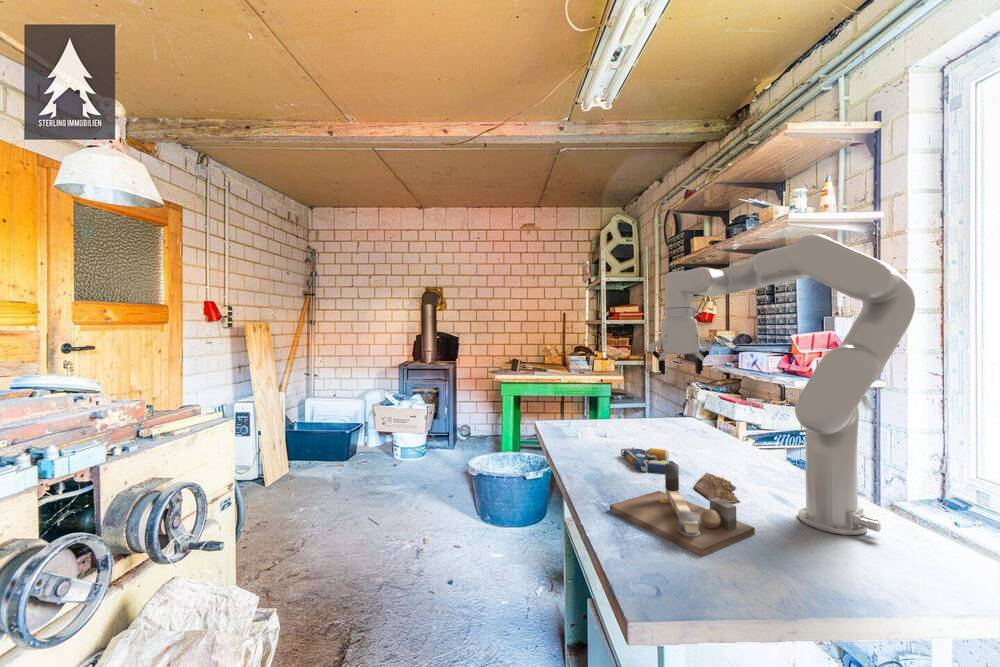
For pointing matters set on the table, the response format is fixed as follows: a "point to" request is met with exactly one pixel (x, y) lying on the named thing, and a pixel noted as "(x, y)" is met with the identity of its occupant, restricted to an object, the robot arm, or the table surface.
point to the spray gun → (647, 459)
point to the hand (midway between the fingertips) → (680, 373)
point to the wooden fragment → (716, 488)
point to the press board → (662, 520)
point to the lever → (679, 500)
